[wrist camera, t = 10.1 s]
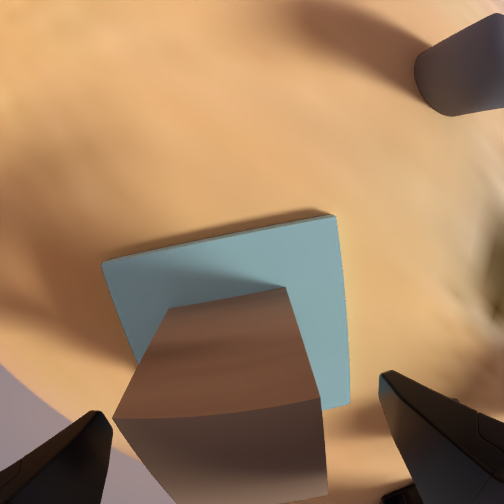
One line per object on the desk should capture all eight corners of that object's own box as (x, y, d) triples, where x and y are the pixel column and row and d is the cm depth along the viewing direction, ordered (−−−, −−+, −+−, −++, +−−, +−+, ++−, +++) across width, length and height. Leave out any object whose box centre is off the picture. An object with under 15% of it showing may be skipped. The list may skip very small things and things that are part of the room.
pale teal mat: (347, 395, 13) (350, 403, 13) (172, 422, 14) (170, 429, 13) (331, 214, 11) (335, 216, 10) (107, 260, 11) (100, 264, 11)
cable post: (474, 117, 10) (552, 108, 5) (424, 116, 10) (507, 98, 5) (457, 54, 9) (526, 25, 4) (405, 47, 9) (473, 3, 4)
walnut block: (300, 380, 12) (328, 494, 6) (200, 395, 12) (180, 508, 7) (285, 287, 11) (320, 397, 5) (168, 308, 11) (112, 418, 5)
